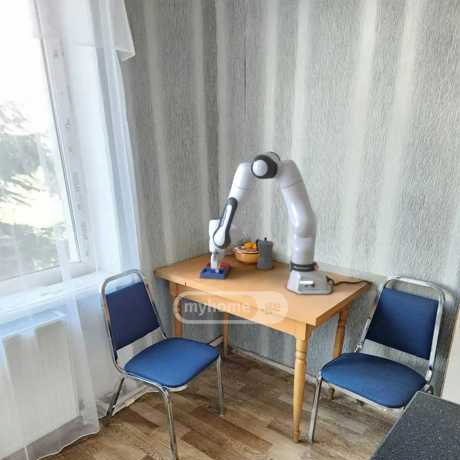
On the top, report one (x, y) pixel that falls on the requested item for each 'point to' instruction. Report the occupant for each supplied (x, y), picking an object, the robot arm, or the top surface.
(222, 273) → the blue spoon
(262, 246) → the coffeepot
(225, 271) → the blue bin
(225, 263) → the red bin
